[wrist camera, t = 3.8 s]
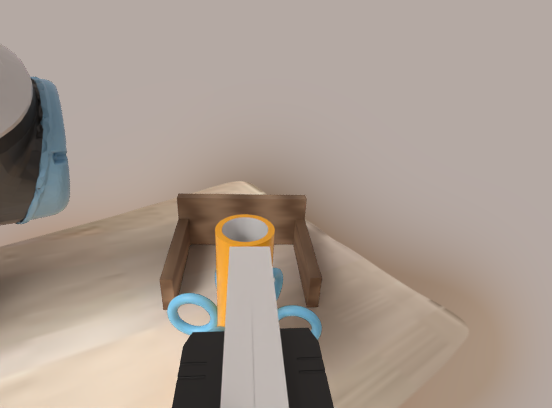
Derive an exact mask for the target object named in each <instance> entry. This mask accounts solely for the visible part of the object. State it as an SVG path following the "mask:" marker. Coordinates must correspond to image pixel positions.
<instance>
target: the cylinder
mask: <svg viewBox="0 0 552 408" xmlns="http://www.w3.org/2000/svg"><path fill="white" fill-rule="evenodd" d="M274 234H275V228H274V226H273V224H272V223H271V222H270V221H268V220H267V219H265V218H263V217H260V216H256V215H249V214H240V215H233V216H230V217H227V218H225V219H223V220H221V221H220V222H219V223H218V224H217V225H216V227H215V242H216V271H215V283H216V289H217V306H216V305H215V304H214V303H213V302H212V301H211V300H210V299H208V298H206V297H204V296H202V295H199V294H194V293H185V294H181V295H178V296H176V297H175V298H173V299H172V300H171V302H170V303H169V305H168V309H167V314H168V318H169V320H170V322H171V323H172V324H173V326H174V327H175V328H177V329H178V330H179V331H181V332H183V333H185V334H188V335H191V334H192V332H214V331H225V318H226V301H227V284H228V266H229V249H230V247H266V246H270V251H271V260H272V266H273V250H274ZM273 277H275V281H274V285H275V294H276V301H277V299H278V297H279V295H280V292H281V289H282V284H283V274H282V271H281V270H280V269H278V268H273ZM188 303H190V304H196V305H199V306H201V307H203V308H204V309H205V310H206V311H207V312H208V313H209V315H210V322H209V323H208V324H206V325H203V326H194V325H190V324H188V323H186V322H184V321H183V320H182V319H181V318H180V317H179V315H178V312H177V310H178V307H179V306H181V305H183V304H188ZM277 311H278V319H279V320H280V319H282V318H284V317H287V316H298V317H301V318H304V319H306V320H307V321H308V322H309V323H310V324H311V326H312V330H311V332H312V333H313V335H314V336H315V337H316V339H317V340H318V339H319V337H320V335H321V332H322V325H321V322H320V320H319V318H318V317H317V315H316V314H315V313H313V312H312V311H311V310H309V309H307V308H305V307H301V306H296V305H289V306H284V307H281V308H278V309H277Z"/></svg>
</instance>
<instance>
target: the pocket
mask: <svg viewBox="0 0 552 408" xmlns="http://www.w3.org/2000/svg"><path fill="white" fill-rule="evenodd" d="M177 204H178V216H179V220H178V223H177V226H176V229H175V232H174V236H173V239H172V242H171V245H170V248H169V252H168V255H167V258H166V261H165V264H164V268H163V271H162V274H161V277H160V286H161V294H162V302H163V310H167V309H168V305H169V303H170V302H171V300H172V299H173V298H175V297H176V296H178V295H179V291H180V286H181V282H182V278H183V273H184V269H185V264H186V260H187V256H188V251H189V247H190V244H216V242H215V227H216V225H217V224H218V223H219V222H220V221H221V220H223V219H225V218H227V217H230V216H233V215H240V214H249V215H256V216H260V217H263V218H265V219H267V220H268V221H270V222H271V223H272V224H273V226H274V228H275V234H274V244H293V245H294V250H295V255H296V259H297V264H298V268H299V273H300V278H301V282H302V287H303V291H304V296H305V301H306V305H307V307H318V302H319V295H320V288H321V281H322V276H321V273H320V270H319V266H318V263H317V260H316V256H315V253H314V250H313V246H312V243H311V240H310V236H309V233H308V230H307V226H306V223H305V209H306V196H305V195H245V194H178V197H177Z"/></svg>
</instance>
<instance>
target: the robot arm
mask: <svg viewBox="0 0 552 408" xmlns="http://www.w3.org/2000/svg"><path fill="white" fill-rule="evenodd" d="M66 153H67V151H66V138H65V130H64V124H63V117H62V110H61V105H60V100H59V95H58V92H57V89H56V86H55V85H54V84H53V83H52V82H50V81H49V80H45V79H39V78H37V77H30V76H29V74H28V71H27V70H26V68H25V66H24V64H23V63H22V61H21V60H20V59H19V58H18V57H17V56H16V55H15V54H14V53H13V52H12V51H10V50H9V49H8V48H6V47H5V46H3V45H2V44H0V225H6V224H12V223H16V224H24V223H27V222H29V221H30V220H32V219H37V218H42V217H47V216H51V215H55V214H58V213H59V212H61V211H63V210H64V209H65V207H66V206H67V204H68V202H69V198H70V179H69V167H68V159H67V156H66ZM172 408H334V407H333V402H332V398H331V394H330V389H329V385H328V381H327V376H326V373H325V368H324V364H323V360H322V355H321V351H320V346H319V342H318V340H317V339H316V337H315V336H314V335H313V333H312V332H311V331H310V329H309V328H288V329H280V328H279V319H278V311H277V302H276V294H275V285H274V277H273V268H272V260H271V251H270V246H266V247H230V249H229V266H228V284H227V301H226V318H225V331H214V332H192V334H191V335H190V337H189V338H188V340H187V341H186V343H185V344H184V346H183V350H182V356H181V361H180V367H179V372H178V380H177V383H176V389H175V394H174V400H173V405H172Z"/></svg>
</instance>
